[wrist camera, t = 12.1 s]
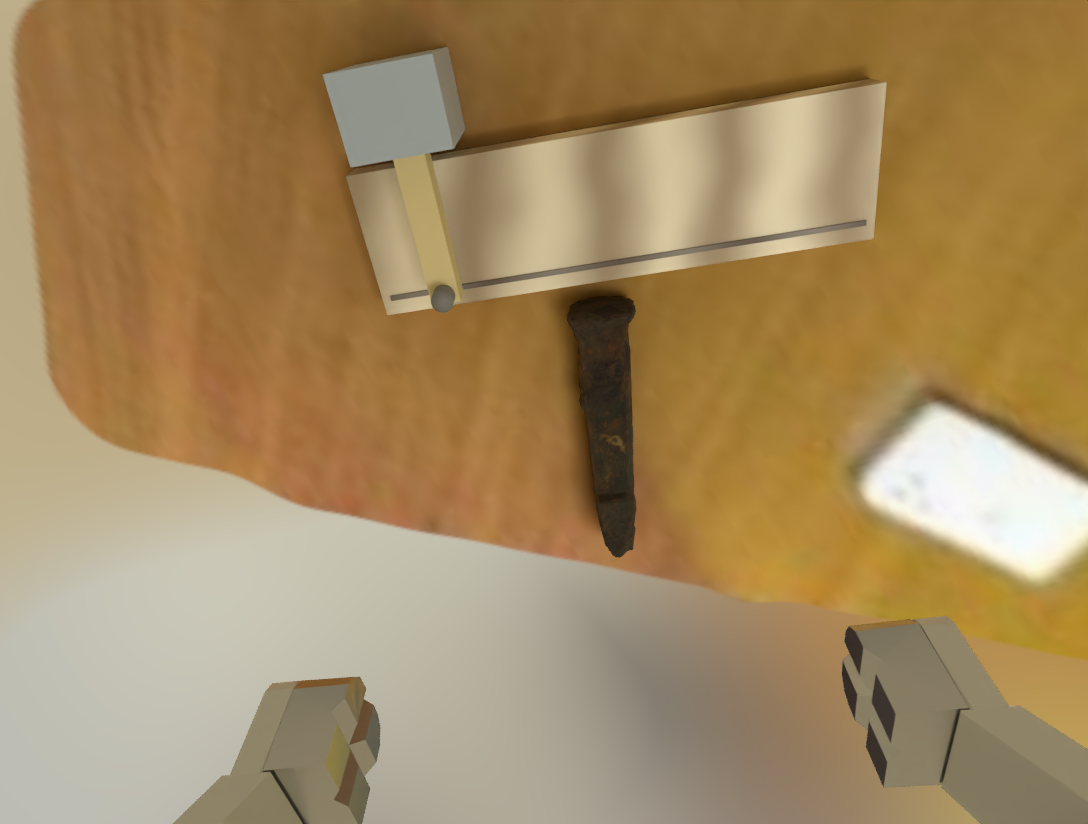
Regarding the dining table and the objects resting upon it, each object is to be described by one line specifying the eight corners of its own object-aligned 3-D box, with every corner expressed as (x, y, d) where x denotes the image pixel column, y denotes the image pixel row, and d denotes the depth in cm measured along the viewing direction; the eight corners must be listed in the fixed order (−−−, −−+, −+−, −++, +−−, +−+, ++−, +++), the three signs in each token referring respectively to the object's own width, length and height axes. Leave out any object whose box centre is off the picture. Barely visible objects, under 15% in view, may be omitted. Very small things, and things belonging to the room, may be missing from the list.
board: (870, 78, 36) (887, 82, 34) (859, 228, 40) (874, 239, 38) (354, 168, 38) (345, 176, 36) (393, 302, 42) (387, 315, 40)
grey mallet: (447, 46, 35) (432, 53, 30) (495, 271, 41) (489, 309, 36) (353, 65, 35) (322, 74, 30) (415, 284, 41) (397, 324, 36)
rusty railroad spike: (565, 293, 42) (568, 323, 38) (631, 289, 42) (640, 319, 38) (578, 530, 52) (581, 574, 48) (631, 527, 51) (638, 571, 47)
